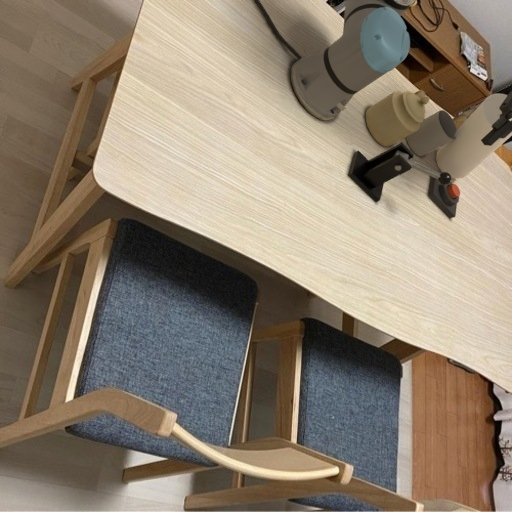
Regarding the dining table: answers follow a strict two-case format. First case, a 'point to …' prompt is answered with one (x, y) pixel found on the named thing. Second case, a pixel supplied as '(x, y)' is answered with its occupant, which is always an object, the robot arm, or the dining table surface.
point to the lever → (427, 170)
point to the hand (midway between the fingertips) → (485, 142)
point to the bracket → (379, 169)
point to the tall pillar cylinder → (472, 140)
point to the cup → (432, 133)
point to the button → (453, 191)
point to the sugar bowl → (396, 116)
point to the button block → (442, 197)
